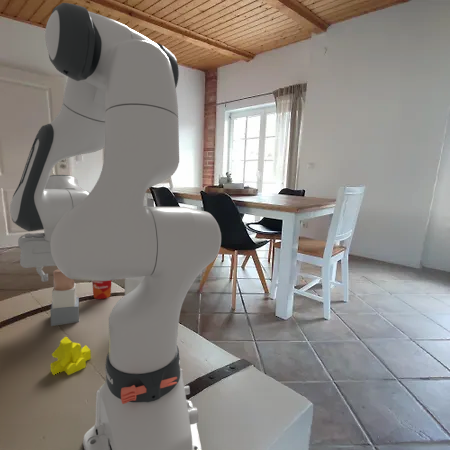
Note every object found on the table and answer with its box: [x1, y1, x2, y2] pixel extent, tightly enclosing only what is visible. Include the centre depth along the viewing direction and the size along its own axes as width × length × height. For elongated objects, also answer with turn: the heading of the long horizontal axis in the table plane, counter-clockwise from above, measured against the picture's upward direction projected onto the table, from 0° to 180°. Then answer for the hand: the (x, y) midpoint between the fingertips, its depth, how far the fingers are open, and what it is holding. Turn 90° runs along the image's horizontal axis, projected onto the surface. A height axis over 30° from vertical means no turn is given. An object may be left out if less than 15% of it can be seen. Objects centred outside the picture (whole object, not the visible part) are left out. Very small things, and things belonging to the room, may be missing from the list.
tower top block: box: [51, 282, 77, 309], centre depth 82 cm, size 6×6×5 cm
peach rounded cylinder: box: [52, 268, 75, 291], centre depth 82 cm, size 5×5×5 cm
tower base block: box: [49, 296, 80, 327], centre depth 83 cm, size 7×7×5 cm
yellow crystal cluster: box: [50, 336, 92, 376], centre depth 63 cm, size 6×8×8 cm
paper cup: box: [91, 280, 113, 300], centre depth 99 cm, size 8×8×14 cm
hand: (64, 279), depth 82 cm, fingers open, 8 cm apart
